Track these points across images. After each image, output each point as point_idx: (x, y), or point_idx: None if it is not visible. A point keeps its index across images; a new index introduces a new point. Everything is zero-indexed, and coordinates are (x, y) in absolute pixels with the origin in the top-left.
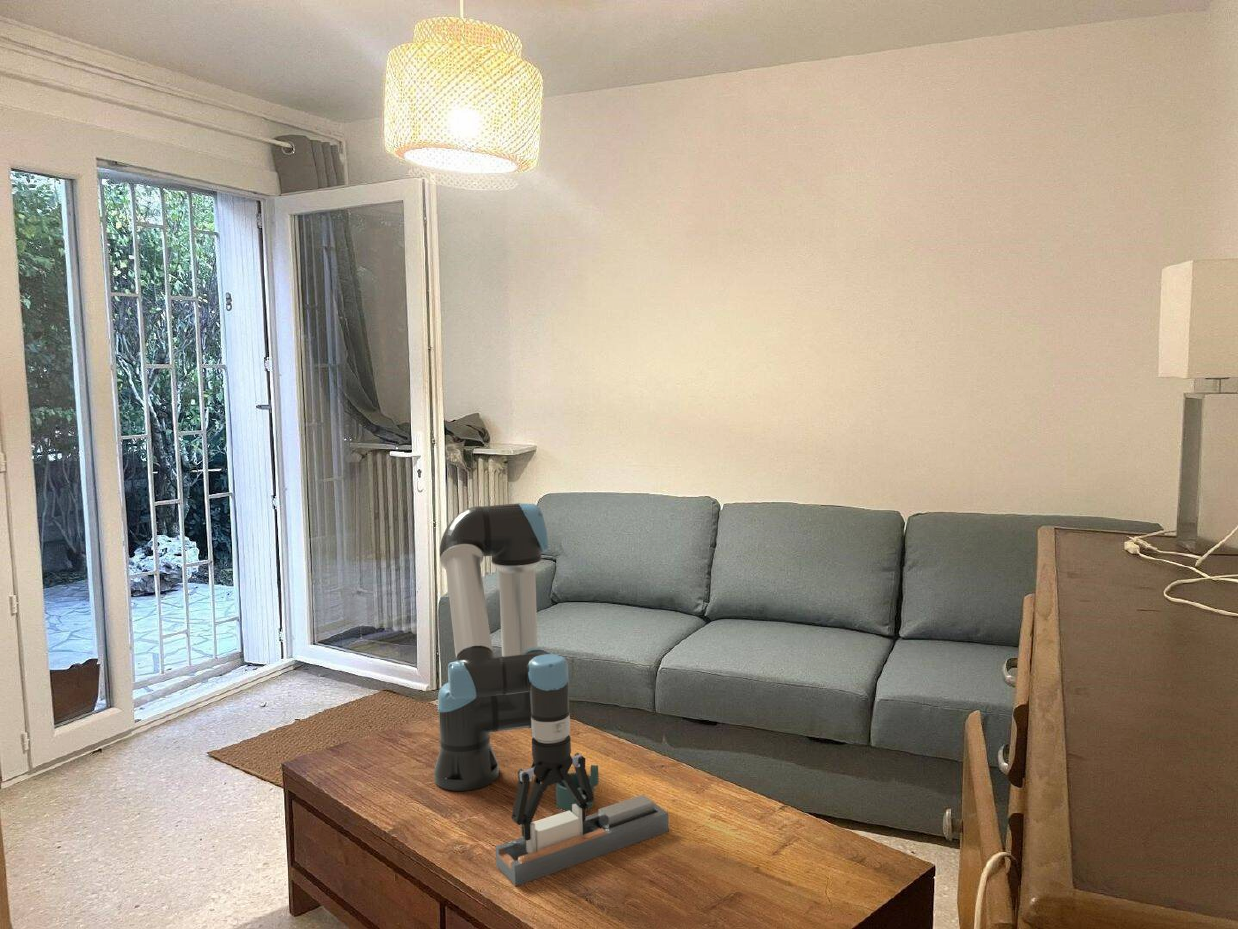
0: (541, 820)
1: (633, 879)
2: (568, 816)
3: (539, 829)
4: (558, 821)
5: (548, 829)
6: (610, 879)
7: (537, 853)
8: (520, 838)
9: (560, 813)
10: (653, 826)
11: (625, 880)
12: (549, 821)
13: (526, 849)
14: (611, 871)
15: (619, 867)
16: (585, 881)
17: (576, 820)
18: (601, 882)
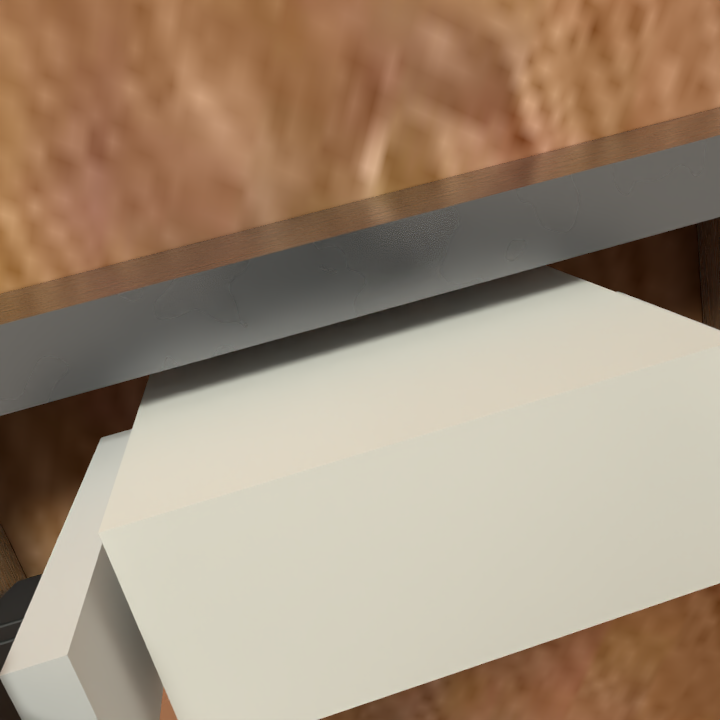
0: (298, 506)
1: (710, 712)
2: (664, 493)
3: (220, 712)
4: (507, 581)
5: (336, 701)
6: (603, 690)
7: (167, 711)
8: (34, 325)
9: (604, 392)
10: None
11: (670, 713)
12: (398, 553)
13: (97, 449)
14: (643, 619)
15: (702, 591)
16: (466, 681)
17: (706, 574)
18: (546, 706)
